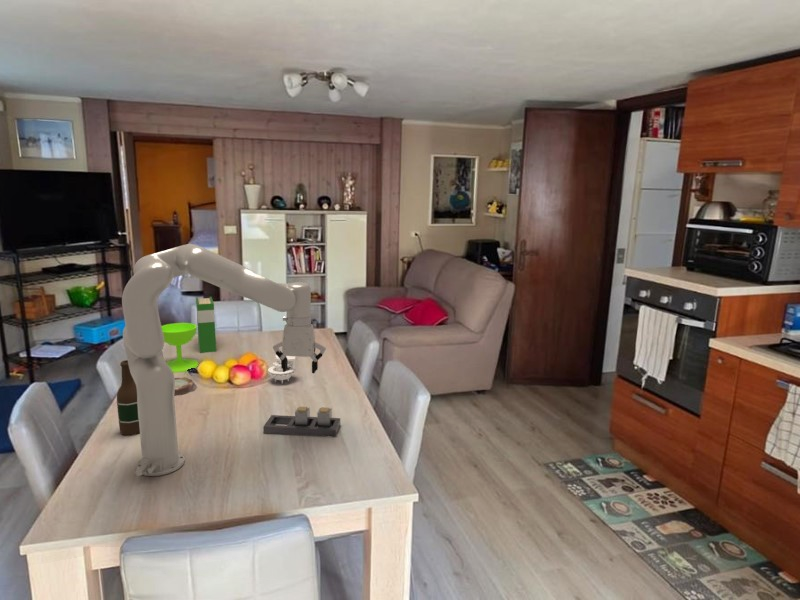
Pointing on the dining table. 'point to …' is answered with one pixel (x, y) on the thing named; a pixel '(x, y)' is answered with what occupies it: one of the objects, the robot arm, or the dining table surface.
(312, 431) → the rail
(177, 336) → the green goblet
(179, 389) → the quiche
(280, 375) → the mechanical part
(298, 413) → the brushed metal block
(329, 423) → the grey tan rectangular block
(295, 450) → the dining table surface
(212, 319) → the hardback book
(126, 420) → the beer bottle
